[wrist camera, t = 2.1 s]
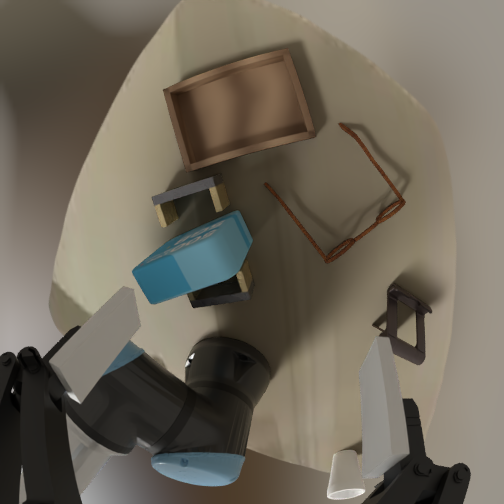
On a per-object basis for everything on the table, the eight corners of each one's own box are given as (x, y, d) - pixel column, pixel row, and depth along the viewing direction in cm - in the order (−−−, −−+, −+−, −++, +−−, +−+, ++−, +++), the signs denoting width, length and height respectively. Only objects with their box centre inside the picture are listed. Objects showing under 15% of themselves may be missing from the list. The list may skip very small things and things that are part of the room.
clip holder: (201, 294, 42) (192, 308, 38) (164, 191, 37) (151, 197, 33) (254, 285, 40) (250, 299, 36) (221, 173, 35) (212, 176, 31)
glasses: (325, 257, 38) (329, 272, 33) (263, 183, 35) (259, 189, 31) (399, 200, 33) (413, 207, 28) (340, 120, 31) (348, 116, 26)
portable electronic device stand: (428, 304, 37) (449, 335, 29) (399, 339, 40) (412, 373, 32) (393, 280, 37) (412, 311, 29) (362, 319, 40) (372, 355, 32)
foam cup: (368, 448, 53) (372, 488, 41) (350, 462, 57) (351, 499, 45) (338, 445, 53) (340, 488, 41) (321, 459, 57) (320, 498, 45)
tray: (194, 170, 35) (186, 172, 33) (172, 93, 32) (162, 89, 29) (314, 137, 32) (316, 136, 29) (288, 55, 28) (287, 48, 25)
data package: (241, 207, 36) (217, 234, 25) (255, 237, 38) (237, 276, 26) (168, 240, 40) (126, 274, 29) (182, 266, 41) (146, 308, 30)
